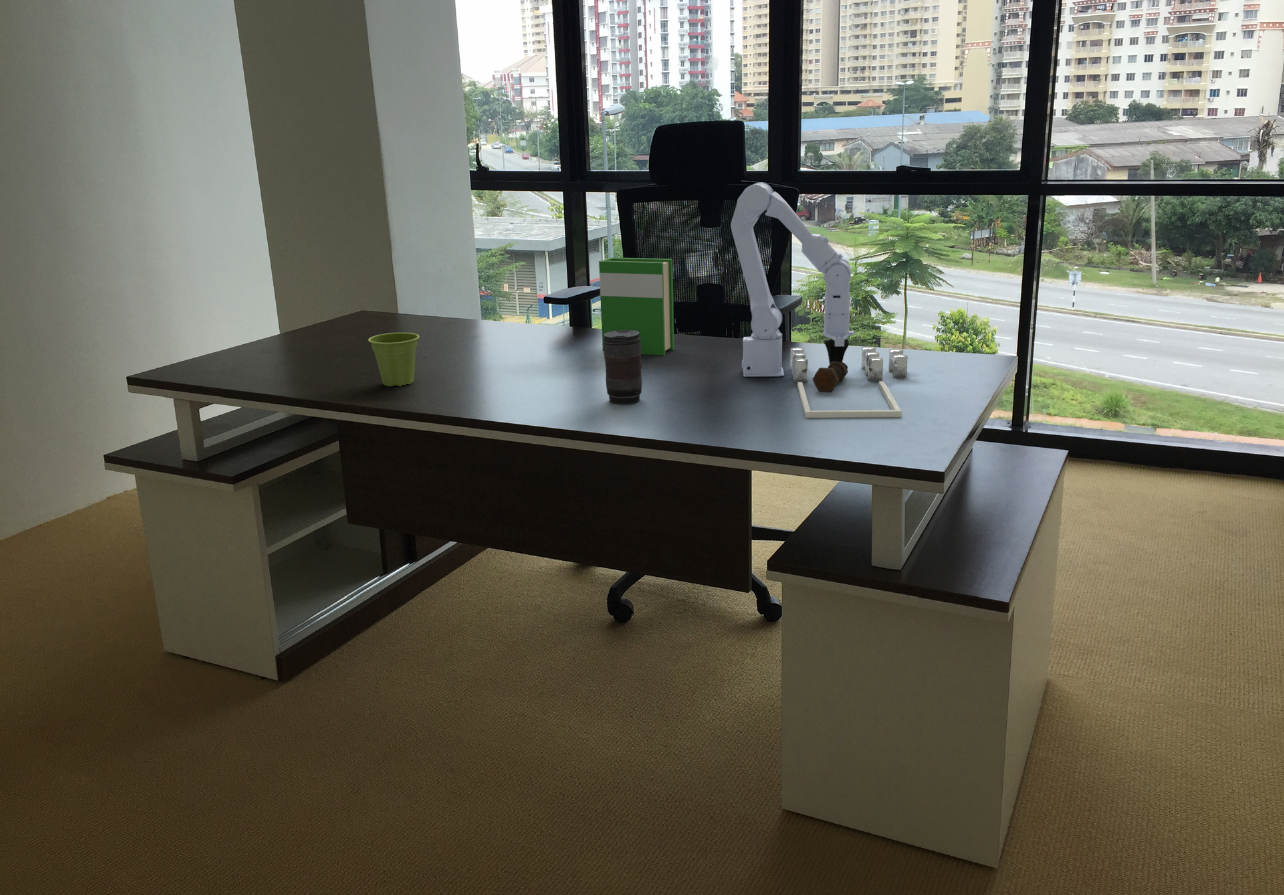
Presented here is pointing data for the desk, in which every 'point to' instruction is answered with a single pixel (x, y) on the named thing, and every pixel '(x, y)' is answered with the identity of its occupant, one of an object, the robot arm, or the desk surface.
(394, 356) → the plant pot
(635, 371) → the camera lens
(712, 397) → the desk surface
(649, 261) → the hardback book
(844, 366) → the bolt
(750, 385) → the desk surface
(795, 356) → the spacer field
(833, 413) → the tray rim
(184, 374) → the desk surface
